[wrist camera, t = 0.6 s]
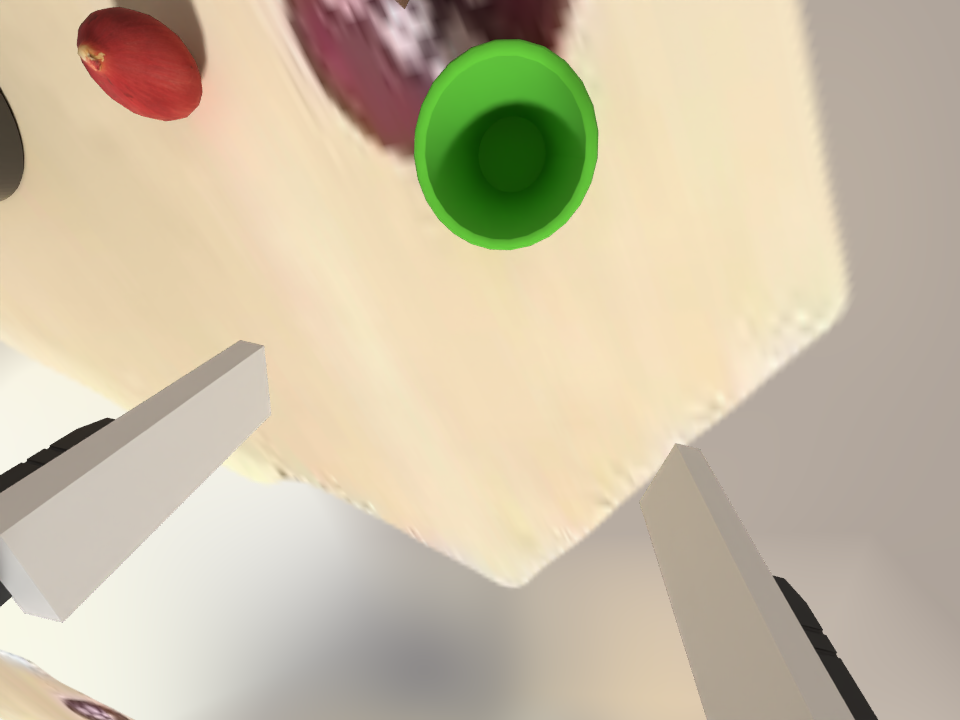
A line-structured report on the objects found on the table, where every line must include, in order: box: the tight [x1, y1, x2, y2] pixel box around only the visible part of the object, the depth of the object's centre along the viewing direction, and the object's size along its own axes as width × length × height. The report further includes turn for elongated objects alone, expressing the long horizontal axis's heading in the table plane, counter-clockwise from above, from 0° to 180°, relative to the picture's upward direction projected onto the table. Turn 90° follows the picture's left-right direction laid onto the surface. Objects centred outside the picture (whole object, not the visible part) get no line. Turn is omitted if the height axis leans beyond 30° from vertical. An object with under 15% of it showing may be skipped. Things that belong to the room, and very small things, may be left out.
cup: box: [414, 39, 598, 250], centre depth 23 cm, size 9×9×11 cm
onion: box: [77, 7, 202, 121], centre depth 24 cm, size 6×6×8 cm
